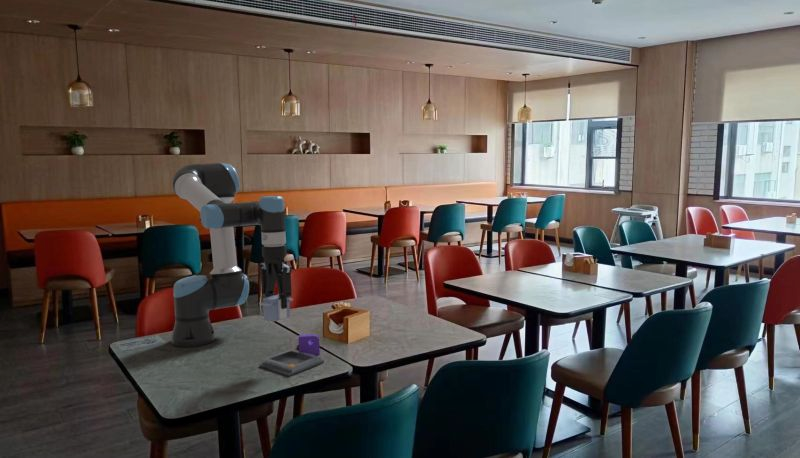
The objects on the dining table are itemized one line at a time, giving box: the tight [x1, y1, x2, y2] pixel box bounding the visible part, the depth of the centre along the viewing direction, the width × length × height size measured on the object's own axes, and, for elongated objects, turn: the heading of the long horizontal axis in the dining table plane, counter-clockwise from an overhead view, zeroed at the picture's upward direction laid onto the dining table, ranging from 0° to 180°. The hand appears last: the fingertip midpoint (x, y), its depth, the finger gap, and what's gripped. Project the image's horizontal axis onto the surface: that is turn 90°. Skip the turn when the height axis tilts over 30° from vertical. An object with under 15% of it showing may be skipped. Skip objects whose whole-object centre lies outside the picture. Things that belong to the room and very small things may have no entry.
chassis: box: [258, 348, 325, 377], centre depth 194 cm, size 14×15×3 cm
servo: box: [258, 292, 294, 323], centre depth 192 cm, size 4×10×8 cm, turn 140°
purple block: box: [298, 333, 320, 356], centre depth 209 cm, size 12×7×7 cm, turn 9°
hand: (277, 317), depth 193 cm, fingers closed on servo, 4 cm apart
